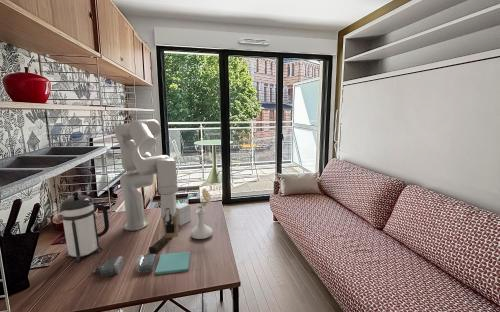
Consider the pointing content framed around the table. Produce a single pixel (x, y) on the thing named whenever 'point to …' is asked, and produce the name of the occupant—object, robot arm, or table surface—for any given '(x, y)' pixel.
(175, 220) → the wooden block
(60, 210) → the coffee press
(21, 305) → the table surface
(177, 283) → the table surface
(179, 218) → the small box
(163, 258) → the mat
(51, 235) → the table surface
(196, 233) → the flower in vase
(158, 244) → the brown wooden branch
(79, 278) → the table surface
